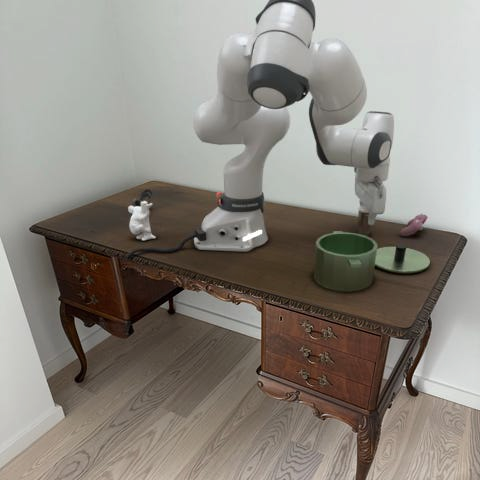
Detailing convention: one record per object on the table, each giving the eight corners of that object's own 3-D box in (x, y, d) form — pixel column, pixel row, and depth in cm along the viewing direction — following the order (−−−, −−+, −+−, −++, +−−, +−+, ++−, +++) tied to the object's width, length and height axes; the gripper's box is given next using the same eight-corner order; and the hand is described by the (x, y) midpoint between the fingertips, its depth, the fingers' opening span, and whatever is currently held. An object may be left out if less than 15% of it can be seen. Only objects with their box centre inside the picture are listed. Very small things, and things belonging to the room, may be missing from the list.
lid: (378, 276, 119) (380, 259, 117) (362, 251, 133) (364, 236, 130) (438, 274, 120) (442, 257, 117) (417, 249, 133) (419, 234, 130)
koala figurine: (162, 236, 146) (157, 199, 140) (149, 244, 141) (144, 205, 135) (140, 232, 150) (134, 195, 143) (127, 240, 144) (120, 202, 138)
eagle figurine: (157, 209, 165) (157, 196, 172) (143, 194, 161) (144, 182, 167) (140, 220, 168) (141, 208, 174) (127, 206, 163) (128, 193, 170)
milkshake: (373, 238, 141) (378, 205, 135) (355, 237, 142) (359, 205, 136) (373, 232, 144) (377, 200, 139) (355, 231, 145) (359, 200, 140)
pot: (321, 298, 111) (324, 262, 106) (308, 262, 128) (310, 229, 122) (382, 296, 111) (388, 259, 106) (361, 260, 128) (365, 227, 123)
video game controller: (410, 243, 140) (424, 225, 136) (397, 234, 141) (411, 216, 136) (418, 232, 147) (432, 215, 143) (406, 224, 148) (420, 206, 143)
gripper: (394, 182, 124) (387, 231, 131) (373, 163, 141) (368, 207, 149) (371, 183, 124) (365, 232, 131) (352, 163, 141) (348, 208, 149)
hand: (366, 218), depth 140 cm, fingers open, 7 cm apart
